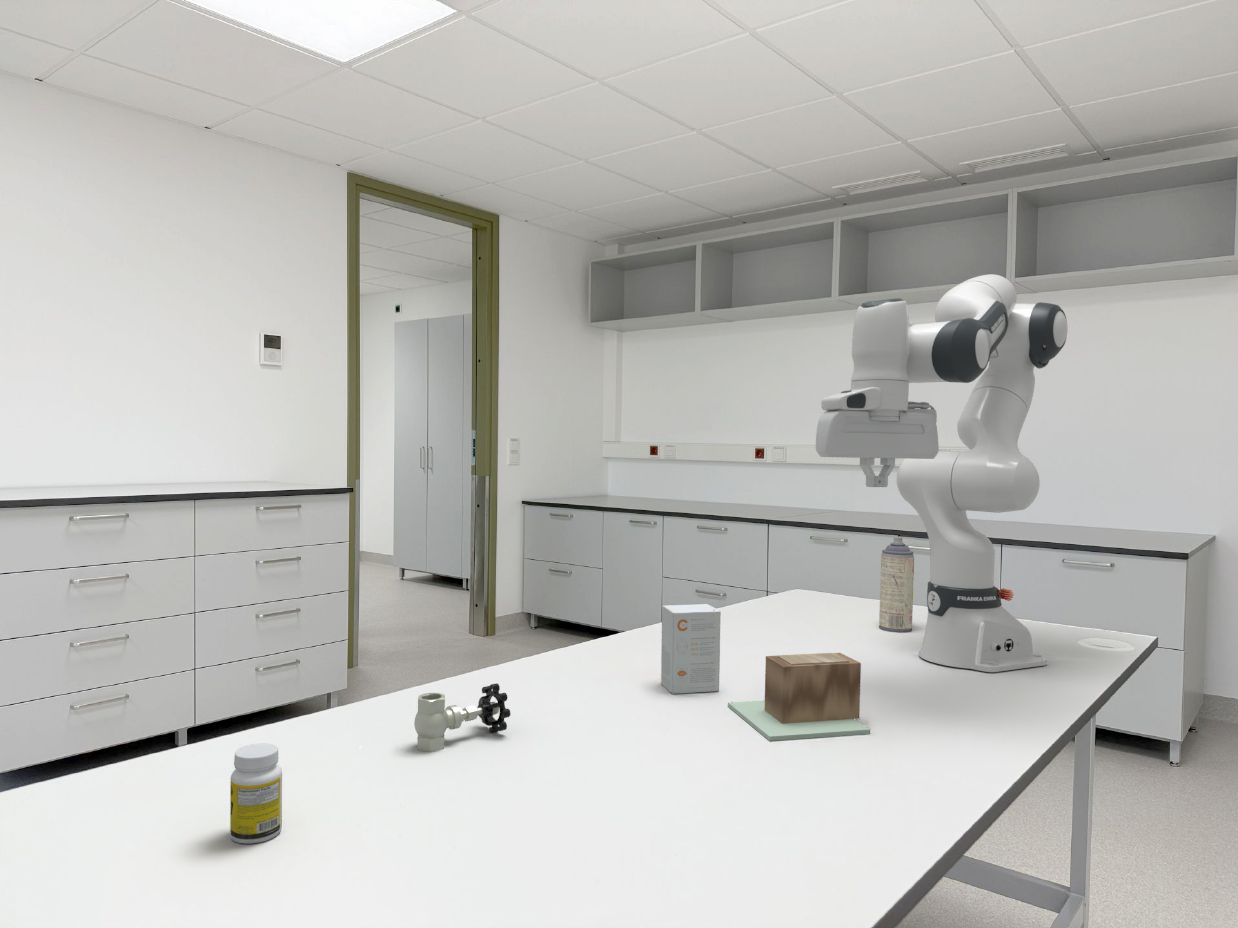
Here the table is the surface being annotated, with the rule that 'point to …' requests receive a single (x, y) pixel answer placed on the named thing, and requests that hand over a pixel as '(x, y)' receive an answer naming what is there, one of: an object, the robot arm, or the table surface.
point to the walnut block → (812, 687)
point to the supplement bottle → (256, 794)
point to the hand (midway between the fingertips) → (876, 487)
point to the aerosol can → (896, 587)
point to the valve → (456, 716)
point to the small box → (690, 648)
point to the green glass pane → (793, 724)
